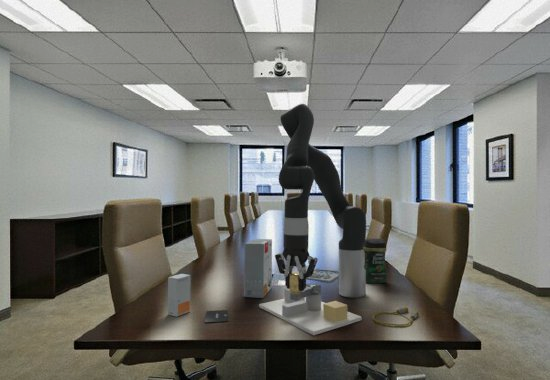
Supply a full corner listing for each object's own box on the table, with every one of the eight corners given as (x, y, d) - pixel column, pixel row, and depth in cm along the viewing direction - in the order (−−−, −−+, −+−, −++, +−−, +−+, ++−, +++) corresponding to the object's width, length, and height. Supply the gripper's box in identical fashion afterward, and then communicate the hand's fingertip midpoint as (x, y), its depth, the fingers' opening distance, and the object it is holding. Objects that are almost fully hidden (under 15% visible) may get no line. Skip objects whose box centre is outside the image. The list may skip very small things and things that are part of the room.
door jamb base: (303, 297, 125) (302, 280, 125) (361, 320, 102) (361, 300, 102) (259, 307, 115) (259, 289, 115) (313, 335, 91) (313, 313, 92)
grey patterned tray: (283, 271, 158) (303, 264, 175) (283, 277, 158) (303, 269, 175) (329, 277, 146) (346, 268, 163) (329, 283, 146) (346, 274, 162)
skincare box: (176, 317, 106) (176, 278, 106) (167, 314, 108) (167, 277, 108) (191, 311, 111) (191, 274, 111) (182, 309, 113) (181, 273, 113)
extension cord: (433, 325, 99) (433, 319, 99) (383, 330, 96) (383, 323, 96) (408, 311, 111) (408, 305, 111) (363, 315, 107) (363, 309, 107)
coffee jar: (367, 284, 142) (366, 240, 142) (361, 279, 150) (360, 237, 150) (389, 283, 143) (389, 239, 143) (382, 279, 151) (381, 237, 151)
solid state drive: (228, 311, 112) (228, 309, 112) (228, 323, 102) (228, 320, 102) (206, 313, 111) (206, 310, 111) (204, 324, 101) (204, 322, 101)
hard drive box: (263, 298, 124) (263, 244, 124) (243, 297, 125) (243, 243, 125) (272, 287, 139) (272, 238, 139) (254, 286, 140) (254, 238, 141)
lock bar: (311, 288, 113) (310, 266, 113) (324, 291, 110) (323, 267, 110) (285, 299, 102) (285, 274, 102) (298, 302, 99) (298, 276, 99)
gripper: (322, 232, 102) (322, 290, 102) (281, 229, 109) (281, 282, 109) (312, 235, 95) (311, 296, 95) (269, 232, 103) (268, 288, 103)
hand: (295, 289), depth 102 cm, fingers closed on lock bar, 3 cm apart
